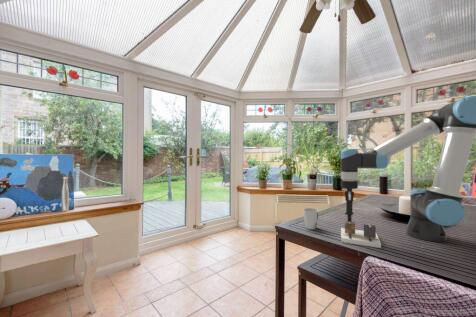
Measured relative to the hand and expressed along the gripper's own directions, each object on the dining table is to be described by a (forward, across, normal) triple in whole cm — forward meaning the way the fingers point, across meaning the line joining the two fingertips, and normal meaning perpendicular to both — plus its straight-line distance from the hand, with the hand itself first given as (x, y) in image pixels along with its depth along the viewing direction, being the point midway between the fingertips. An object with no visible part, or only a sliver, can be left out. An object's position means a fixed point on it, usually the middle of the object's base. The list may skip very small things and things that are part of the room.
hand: (349, 227), depth 106 cm
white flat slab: (+5, +2, +4) cm, 7 cm away
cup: (+5, -5, -19) cm, 20 cm away
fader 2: (+2, +5, +8) cm, 10 cm away
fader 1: (+2, +3, 0) cm, 4 cm away
